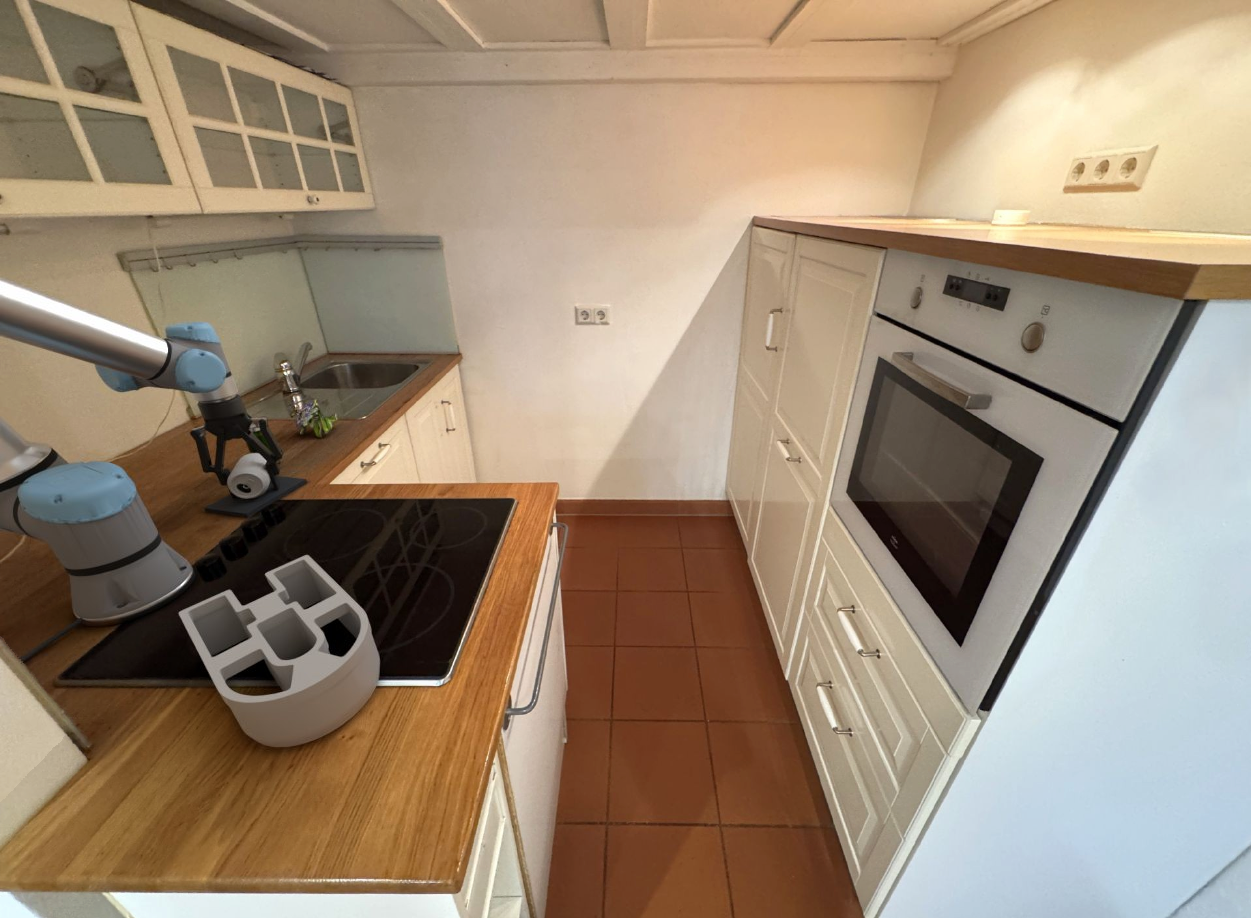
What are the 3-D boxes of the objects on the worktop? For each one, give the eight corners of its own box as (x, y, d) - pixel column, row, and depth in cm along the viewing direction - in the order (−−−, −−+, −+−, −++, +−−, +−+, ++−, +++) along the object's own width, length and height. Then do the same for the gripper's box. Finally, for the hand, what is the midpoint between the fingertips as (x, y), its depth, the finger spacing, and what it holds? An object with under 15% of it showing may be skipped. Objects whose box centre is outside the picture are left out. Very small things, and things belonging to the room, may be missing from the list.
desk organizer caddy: (323, 596, 84) (307, 554, 80) (406, 684, 67) (391, 637, 64) (203, 657, 73) (177, 612, 69) (267, 781, 56) (238, 731, 52)
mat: (247, 517, 108) (246, 513, 107) (205, 511, 110) (203, 507, 110) (307, 482, 121) (306, 478, 121) (267, 478, 124) (266, 474, 124)
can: (229, 468, 117) (216, 489, 107) (252, 445, 118) (241, 463, 108) (261, 486, 121) (251, 507, 111) (282, 464, 122) (275, 483, 112)
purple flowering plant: (310, 450, 152) (287, 417, 151) (345, 434, 157) (324, 401, 157) (306, 441, 142) (282, 405, 141) (344, 424, 148) (322, 389, 147)
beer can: (285, 461, 133) (269, 419, 127) (275, 470, 128) (259, 427, 122) (263, 463, 132) (246, 421, 127) (252, 473, 127) (235, 429, 122)
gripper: (276, 385, 112) (308, 474, 122) (163, 400, 105) (207, 495, 115) (271, 394, 106) (305, 488, 116) (151, 412, 98) (199, 510, 109)
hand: (257, 491), depth 115 cm, fingers closed on can, 7 cm apart
